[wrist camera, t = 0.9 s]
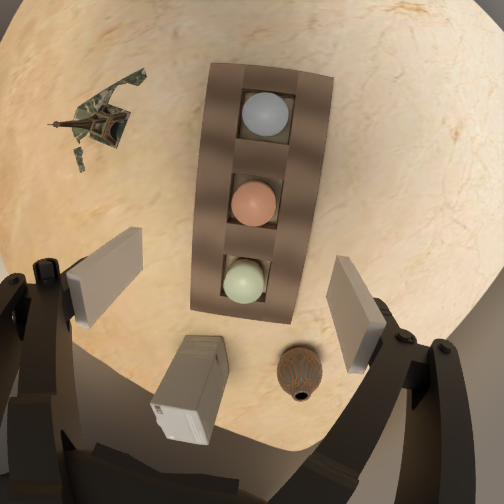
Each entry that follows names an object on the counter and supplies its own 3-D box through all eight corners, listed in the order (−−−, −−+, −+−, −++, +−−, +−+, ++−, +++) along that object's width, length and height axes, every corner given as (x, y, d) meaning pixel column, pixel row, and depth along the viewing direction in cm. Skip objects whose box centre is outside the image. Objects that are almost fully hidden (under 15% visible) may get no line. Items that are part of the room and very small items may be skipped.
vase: (319, 338, 42) (327, 378, 34) (319, 369, 44) (324, 408, 36) (275, 342, 43) (275, 382, 35) (278, 372, 45) (278, 412, 37)
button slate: (247, 94, 29) (245, 90, 26) (289, 100, 29) (291, 95, 26) (242, 134, 31) (239, 132, 28) (284, 139, 31) (285, 138, 28)
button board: (214, 68, 29) (210, 62, 27) (329, 82, 29) (333, 77, 27) (194, 300, 41) (190, 309, 39) (289, 314, 41) (290, 324, 38)
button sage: (228, 256, 36) (225, 265, 34) (266, 261, 36) (265, 271, 33) (225, 289, 38) (222, 300, 35) (261, 294, 38) (260, 306, 35)
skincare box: (230, 371, 46) (215, 447, 31) (190, 369, 46) (166, 441, 32) (223, 333, 43) (202, 413, 28) (179, 332, 43) (146, 406, 29)
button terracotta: (237, 177, 33) (233, 180, 30) (278, 183, 33) (278, 186, 30) (233, 216, 34) (229, 223, 32) (272, 222, 34) (272, 229, 32)
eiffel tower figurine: (147, 66, 30) (92, 40, 17) (167, 130, 33) (115, 127, 21) (66, 116, 32) (3, 117, 20) (83, 174, 36) (20, 192, 23)
